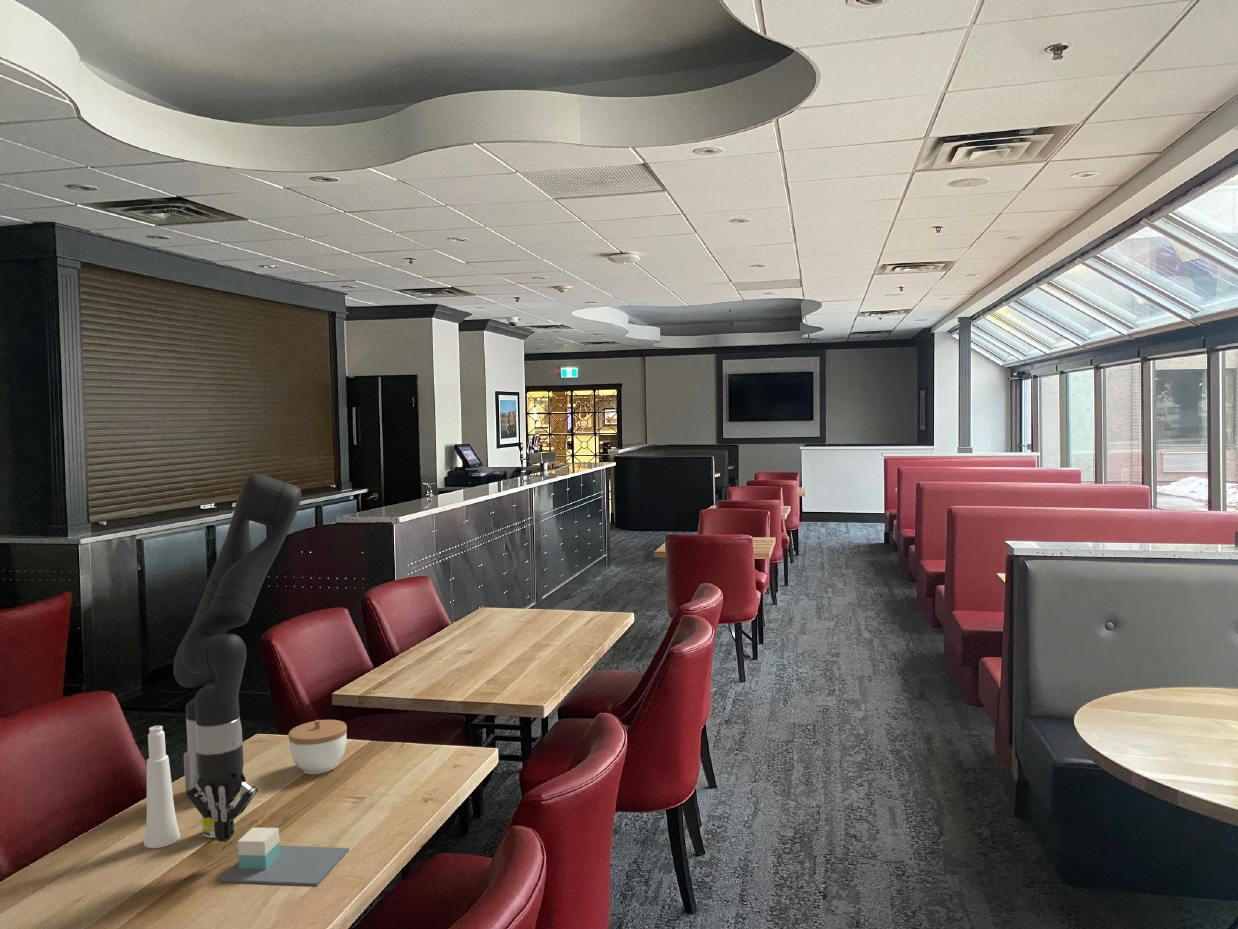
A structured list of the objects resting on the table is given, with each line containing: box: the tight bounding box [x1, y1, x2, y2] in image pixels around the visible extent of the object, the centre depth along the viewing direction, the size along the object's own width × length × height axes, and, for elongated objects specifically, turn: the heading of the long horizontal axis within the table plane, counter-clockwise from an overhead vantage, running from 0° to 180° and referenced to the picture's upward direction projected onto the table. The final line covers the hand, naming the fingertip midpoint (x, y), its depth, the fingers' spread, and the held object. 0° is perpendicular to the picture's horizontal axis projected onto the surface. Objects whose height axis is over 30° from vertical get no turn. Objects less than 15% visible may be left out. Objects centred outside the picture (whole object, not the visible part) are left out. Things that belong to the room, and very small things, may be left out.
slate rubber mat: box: [218, 845, 350, 887], centre depth 150 cm, size 18×12×1 cm, turn 83°
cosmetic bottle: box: [143, 725, 181, 849], centre depth 160 cm, size 6×6×22 cm
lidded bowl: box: [288, 719, 348, 775], centre depth 193 cm, size 13×13×11 cm
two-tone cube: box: [237, 827, 281, 869], centre depth 150 cm, size 5×5×5 cm
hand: (224, 839), depth 151 cm, fingers closed
